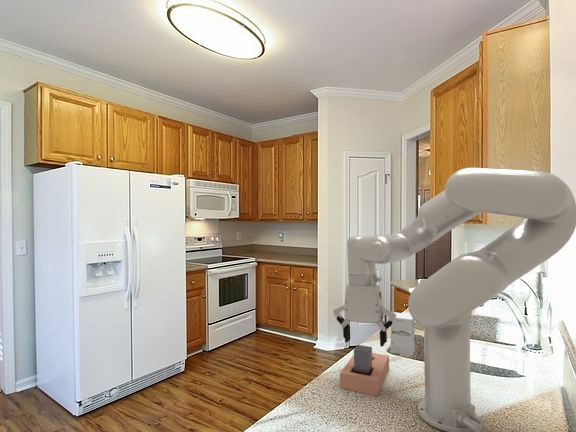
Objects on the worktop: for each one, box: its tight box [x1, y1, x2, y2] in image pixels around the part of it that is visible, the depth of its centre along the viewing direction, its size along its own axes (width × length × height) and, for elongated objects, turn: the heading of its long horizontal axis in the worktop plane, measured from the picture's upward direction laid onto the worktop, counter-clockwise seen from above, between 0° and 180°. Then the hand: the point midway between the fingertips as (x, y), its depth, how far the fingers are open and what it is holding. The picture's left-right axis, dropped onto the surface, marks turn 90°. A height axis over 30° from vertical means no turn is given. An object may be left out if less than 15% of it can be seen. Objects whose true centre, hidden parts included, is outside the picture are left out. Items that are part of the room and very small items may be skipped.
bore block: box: [339, 352, 390, 397], centre depth 95 cm, size 18×10×4 cm, turn 154°
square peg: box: [353, 344, 373, 376], centre depth 90 cm, size 4×4×10 cm
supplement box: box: [390, 311, 416, 358], centre depth 114 cm, size 7×7×13 cm
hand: (364, 342), depth 90 cm, fingers open, 9 cm apart
